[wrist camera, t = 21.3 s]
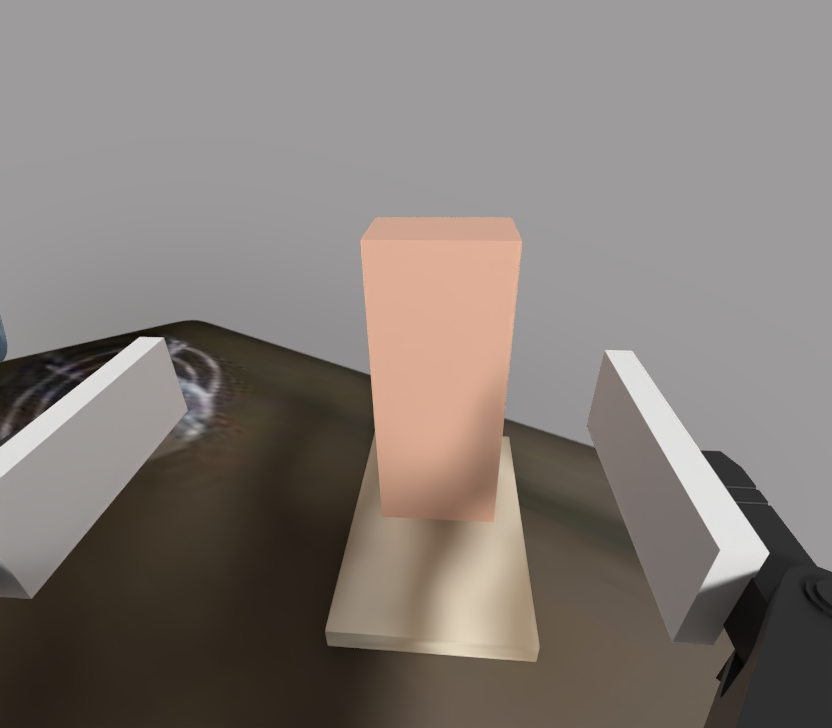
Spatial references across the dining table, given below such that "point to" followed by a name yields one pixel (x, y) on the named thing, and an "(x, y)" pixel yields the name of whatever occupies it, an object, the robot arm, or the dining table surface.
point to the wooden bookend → (436, 580)
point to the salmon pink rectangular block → (440, 359)
